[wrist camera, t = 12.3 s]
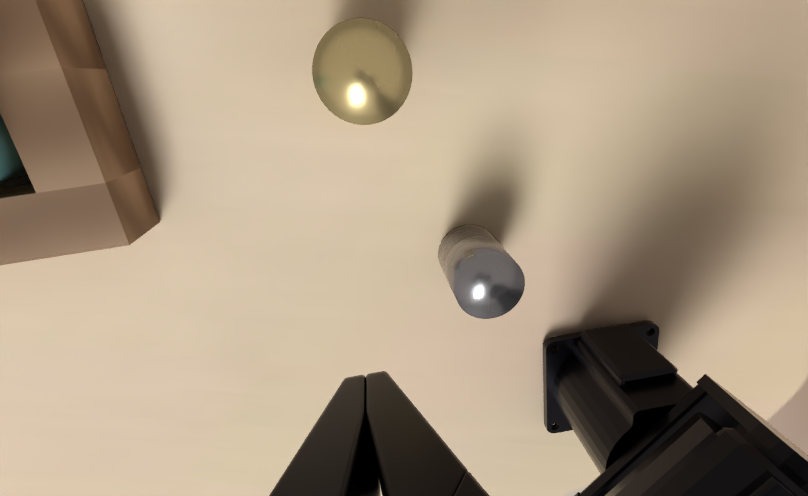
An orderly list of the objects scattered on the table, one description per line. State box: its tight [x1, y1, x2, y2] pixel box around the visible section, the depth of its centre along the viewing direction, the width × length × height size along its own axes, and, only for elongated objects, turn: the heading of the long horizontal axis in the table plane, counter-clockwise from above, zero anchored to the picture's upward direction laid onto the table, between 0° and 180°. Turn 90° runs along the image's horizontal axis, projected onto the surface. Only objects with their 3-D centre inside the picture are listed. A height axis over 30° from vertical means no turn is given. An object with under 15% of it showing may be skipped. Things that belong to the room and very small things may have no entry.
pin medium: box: [312, 18, 412, 125], centre depth 16 cm, size 3×3×6 cm
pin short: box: [438, 225, 525, 319], centre depth 21 cm, size 3×3×4 cm
